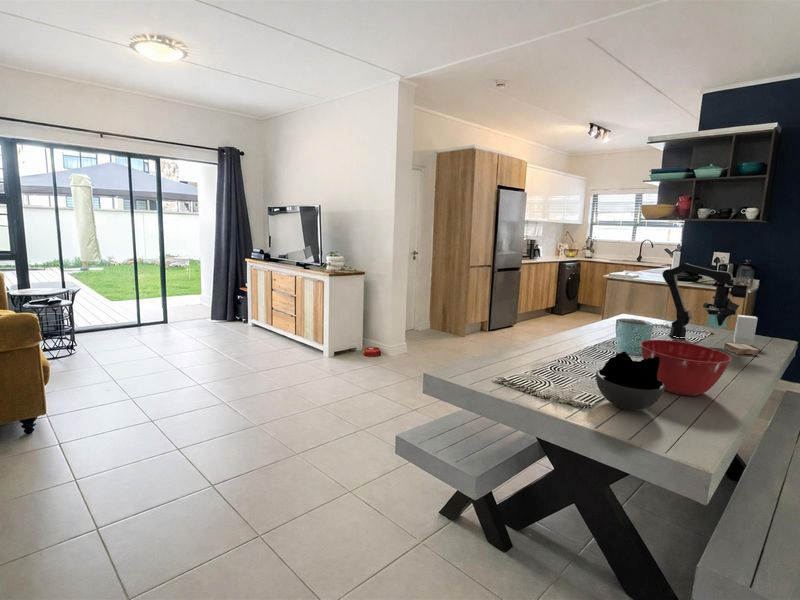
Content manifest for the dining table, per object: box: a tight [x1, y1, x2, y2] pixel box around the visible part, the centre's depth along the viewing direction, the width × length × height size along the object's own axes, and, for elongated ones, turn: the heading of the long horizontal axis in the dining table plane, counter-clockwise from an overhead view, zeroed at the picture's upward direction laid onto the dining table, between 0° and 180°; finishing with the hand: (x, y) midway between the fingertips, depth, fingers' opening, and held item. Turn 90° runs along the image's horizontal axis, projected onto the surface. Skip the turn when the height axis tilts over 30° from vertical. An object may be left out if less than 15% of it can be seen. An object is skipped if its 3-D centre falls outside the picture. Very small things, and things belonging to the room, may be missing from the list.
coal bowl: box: [595, 351, 665, 411], centre depth 142 cm, size 20×20×19 cm
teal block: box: [706, 313, 728, 329], centre depth 231 cm, size 6×6×6 cm
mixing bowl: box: [640, 339, 733, 397], centre depth 162 cm, size 28×28×16 cm
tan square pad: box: [723, 342, 760, 356], centre depth 220 cm, size 10×10×3 cm
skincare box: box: [732, 314, 759, 346], centre depth 236 cm, size 8×7×16 cm
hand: (716, 324), depth 231 cm, fingers closed on teal block, 6 cm apart
